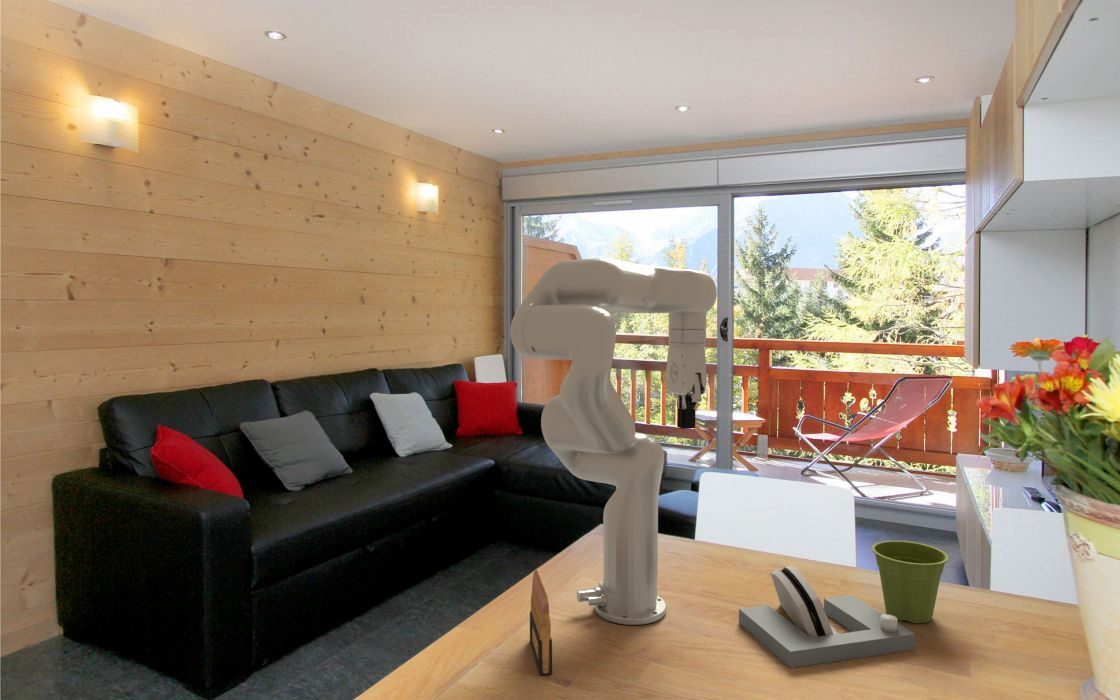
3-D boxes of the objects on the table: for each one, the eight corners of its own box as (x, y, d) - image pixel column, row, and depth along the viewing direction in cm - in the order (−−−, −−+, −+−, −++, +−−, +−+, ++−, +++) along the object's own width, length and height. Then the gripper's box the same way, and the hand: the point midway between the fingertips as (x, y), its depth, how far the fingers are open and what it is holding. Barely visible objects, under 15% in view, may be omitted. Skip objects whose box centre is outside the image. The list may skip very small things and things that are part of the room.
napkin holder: (552, 675, 98) (552, 594, 97) (539, 676, 98) (539, 595, 97) (541, 640, 109) (540, 566, 108) (529, 641, 108) (529, 567, 108)
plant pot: (891, 595, 126) (893, 535, 125) (959, 618, 116) (961, 554, 115) (856, 611, 119) (858, 548, 118) (925, 637, 109) (927, 569, 109)
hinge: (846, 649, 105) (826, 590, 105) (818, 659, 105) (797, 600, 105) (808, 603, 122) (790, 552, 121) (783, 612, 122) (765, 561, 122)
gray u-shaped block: (790, 668, 100) (790, 639, 100) (738, 623, 114) (739, 598, 114) (914, 649, 105) (915, 622, 105) (850, 608, 120) (851, 585, 120)
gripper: (655, 337, 143) (655, 423, 144) (685, 339, 129) (685, 435, 130) (688, 336, 145) (687, 421, 146) (721, 339, 131) (720, 433, 132)
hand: (686, 427), depth 138 cm, fingers closed
